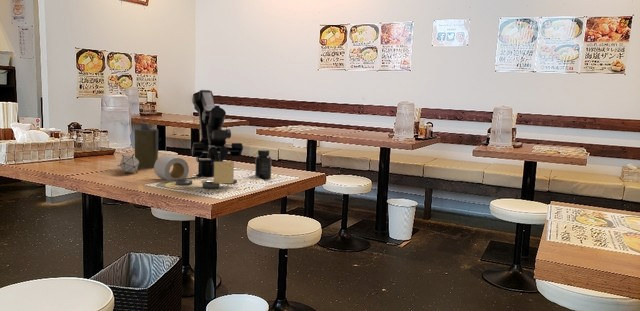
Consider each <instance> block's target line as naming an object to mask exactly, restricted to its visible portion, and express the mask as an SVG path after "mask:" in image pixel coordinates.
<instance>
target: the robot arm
mask: <svg viewBox="0 0 640 311" xmlns="http://www.w3.org/2000/svg"><path fill="white" fill-rule="evenodd" d="M191 99H192V104H193V106H194V107H193V109H194V110H195V111H196V112H197V113H198V120H199V129H200V132H199V133H200V141H199V142H193V144H192V147H191V156H192V157H193V158H195V161H196V162H197V163H198V165H197V166H198V168H197V169H198V172H197V174H195V176H198V177H202V178H210V177H214V161H224V159H227V157H228V154H229V155H230V157H232V158H239V157H241V156H242V153H243V150H244V146H243V143H242V142H231V145H228V146H227V145H226V144H227V141H226V140H227V139H231V137H232V131H231V129H229V128H228V129H227V128H226V129H222V127H223V126H224V123H225V119H226V115H227V114H226V111H225V109H223V108H222V107H220V105H215V101H214V93H213V91H212V90H210V89H201V90H199V91H197V92H195V93H193V95H192V97H191Z"/></svg>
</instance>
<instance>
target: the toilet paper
mask: <svg viewBox="0 0 640 311" xmlns="http://www.w3.org/2000/svg"><path fill="white" fill-rule="evenodd" d="M171 167H172V170H171ZM153 170H154V173H155V176H157V177H158V178H159V179H162V180H167V181H173V180H175V181H177V180H187V179H186V178H187V177H188V176H189V171H190V168H189V164H188V162H187V161H186V160H185V159H183V158H181V157H177V156H174V155H171V154H163V155H160V156H158V159H157V160H156V162H155V164H154V168H153ZM170 170H171V172H170Z"/></svg>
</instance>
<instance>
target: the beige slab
mask: <svg viewBox="0 0 640 311" xmlns="http://www.w3.org/2000/svg"><path fill="white" fill-rule="evenodd" d="M234 168H235V161H233V160H225V161H224V160H223V161H214V176H213V181H211V182H204V183H202V188H203V189H206V190H217V189H220V186H221V185H220V184H223V183H233V179H234V173H235V172H234V171H235V170H234Z"/></svg>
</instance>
